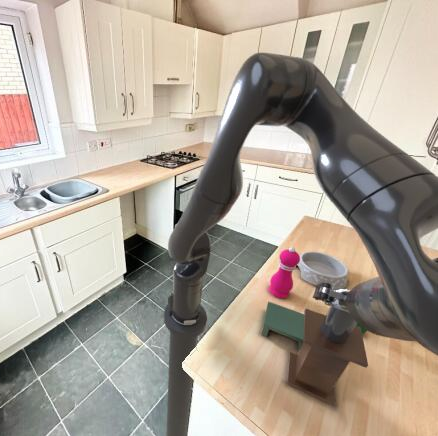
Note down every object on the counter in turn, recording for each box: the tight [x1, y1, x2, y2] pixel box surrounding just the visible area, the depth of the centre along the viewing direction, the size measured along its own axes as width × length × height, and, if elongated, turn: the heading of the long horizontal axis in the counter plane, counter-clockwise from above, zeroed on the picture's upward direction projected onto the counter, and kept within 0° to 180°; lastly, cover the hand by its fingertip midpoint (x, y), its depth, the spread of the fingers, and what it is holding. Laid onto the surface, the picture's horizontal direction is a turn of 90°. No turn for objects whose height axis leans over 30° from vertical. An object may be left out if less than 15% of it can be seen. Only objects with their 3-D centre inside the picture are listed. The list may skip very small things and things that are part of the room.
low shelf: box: [260, 301, 304, 351], centre depth 74 cm, size 12×10×5 cm
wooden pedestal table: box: [286, 308, 369, 407], centre depth 58 cm, size 11×10×18 cm
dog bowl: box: [296, 250, 349, 291], centre depth 96 cm, size 17×18×5 cm
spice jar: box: [320, 288, 357, 344], centre depth 52 cm, size 5×5×11 cm
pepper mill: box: [269, 246, 300, 299], centre depth 84 cm, size 7×7×20 cm
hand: (355, 309), depth 44 cm, fingers open, 8 cm apart
